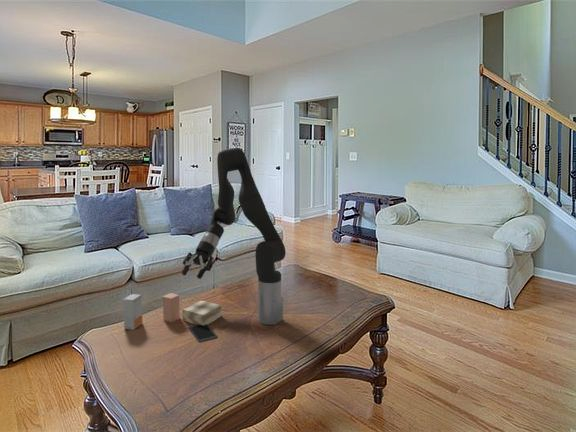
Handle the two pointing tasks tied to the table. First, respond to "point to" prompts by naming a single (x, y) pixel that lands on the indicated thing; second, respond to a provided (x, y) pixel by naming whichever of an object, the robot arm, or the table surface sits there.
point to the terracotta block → (171, 307)
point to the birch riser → (201, 312)
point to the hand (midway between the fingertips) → (190, 276)
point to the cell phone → (202, 332)
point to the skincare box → (132, 311)
